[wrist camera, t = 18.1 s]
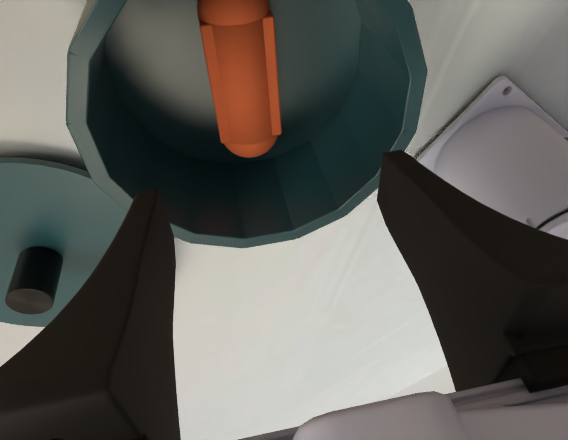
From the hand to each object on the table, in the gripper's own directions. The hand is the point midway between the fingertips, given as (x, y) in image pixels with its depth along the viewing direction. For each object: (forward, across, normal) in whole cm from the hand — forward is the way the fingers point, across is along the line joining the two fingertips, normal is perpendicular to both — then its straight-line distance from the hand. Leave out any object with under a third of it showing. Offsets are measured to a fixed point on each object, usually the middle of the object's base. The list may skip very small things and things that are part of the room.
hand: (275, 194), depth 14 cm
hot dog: (+10, 0, 0) cm, 10 cm away
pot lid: (+10, +14, +10) cm, 20 cm away
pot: (+10, 0, 0) cm, 10 cm away
